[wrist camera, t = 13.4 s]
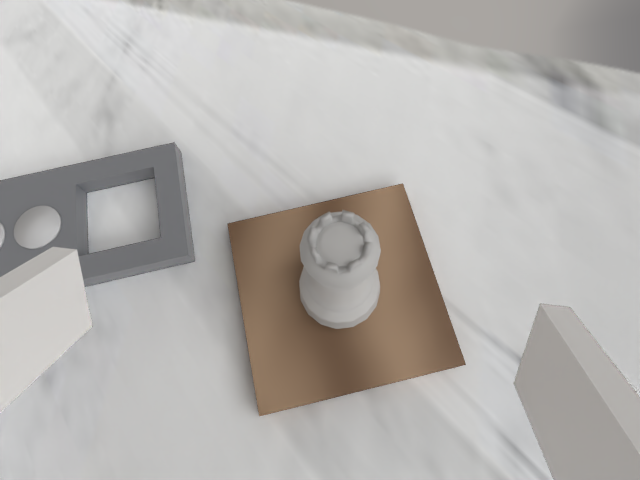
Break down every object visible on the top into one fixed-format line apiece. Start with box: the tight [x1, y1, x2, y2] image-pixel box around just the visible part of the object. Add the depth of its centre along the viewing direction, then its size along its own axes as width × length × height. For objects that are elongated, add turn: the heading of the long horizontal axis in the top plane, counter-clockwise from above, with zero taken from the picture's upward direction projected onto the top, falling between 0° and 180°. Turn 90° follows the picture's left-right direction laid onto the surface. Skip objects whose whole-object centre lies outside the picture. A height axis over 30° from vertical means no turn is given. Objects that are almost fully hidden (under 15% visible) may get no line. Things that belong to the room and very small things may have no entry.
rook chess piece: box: [299, 210, 381, 329], centre depth 19 cm, size 4×4×8 cm
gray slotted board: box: [0, 142, 195, 287], centre depth 25 cm, size 16×8×2 cm, turn 103°
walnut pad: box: [228, 184, 466, 416], centre depth 24 cm, size 11×11×1 cm
